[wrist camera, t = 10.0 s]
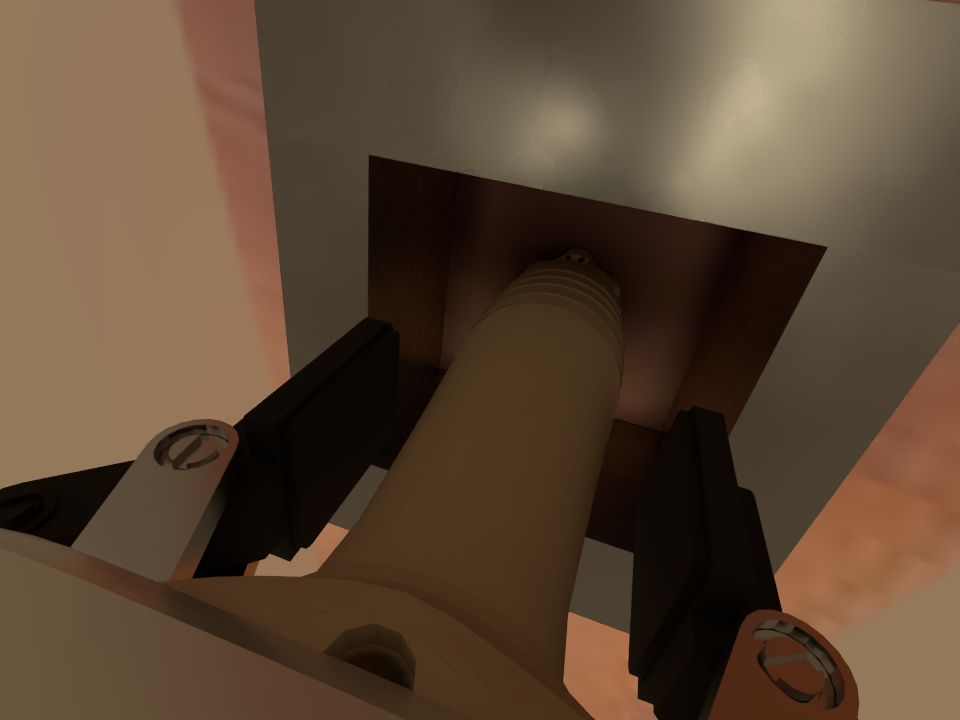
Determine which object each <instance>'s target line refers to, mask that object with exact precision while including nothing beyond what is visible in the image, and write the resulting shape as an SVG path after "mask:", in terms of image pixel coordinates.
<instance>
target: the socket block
mask: <svg viewBox="0 0 960 720" xmlns="http://www.w3.org/2000/svg"><path fill="white" fill-rule="evenodd" d="M254 3H255V13H256V23H257V34H258V44H259V54H260V65H261V75H262V85H263V96H264V106H265V116H266V127H267V137H268V147H269V158H270V168H271V179H272V189H273V199H274V210H275V220H276V230H277V241H278V251H279V261H280V272H281V282H282V292H283V303H284V313H285V323H286V334H287V344H288V354H289V365H290V375H291V378H292V377H293V376H294V375H295V374H296V373H298V372H299V371H300V370H301V369H303V368H304V367H305V366H306V365H308V364H309V363H310V362H311V361H313V360H314V359H315V358H316V357H317V356H319V355H320V354H321V353H322V352H324V351H325V350H326V349H327V348H329V347H330V346H331V345H332V344H334V343H335V342H336V341H337V340H338V339H340V338H341V337H342V336H343V335H345V334H346V333H347V332H348V331H350V330H351V329H352V328H353V327H355V326H356V325H357V324H358V323H359V322H361V321H362V320H363V319H364V318H366V317H370V318H374V319H377V320H381V321H385V322H388V323H391V324H392V325H393V328H394V331H397V332H398V333H399V337H400V341H399V363H398V385H397V408H396V425H395V430H394V433H393V435H392V437H391V439H390V440H389V441H388V443H387V444H386V445H385V447H384V448H383V449H382V451H381V452H380V453H379V455H378V456H377V458H376V459H375V460H374V462H373V463H372V464H371V466H370V467H369V468H368V470H367V471H366V472H365V474H364V475H363V476H362V478H361V479H360V480H359V482H358V483H357V484H356V486H355V487H354V488H353V490H352V491H351V492H350V494H349V495H348V496H347V498H346V499H345V500H344V502H343V503H342V504H341V506H340V507H339V509H338V510H337V511H336V513H335V514H334V515H333V517H332V518H331V519H330V521H329V522H328V523H331V524H334V525H336V526H339V527H342V528H344V529H347V530H351V529H352V528H353V526H354V525H355V524H356V523H357V521H358V520H359V519H360V517H361V515H362V514H363V512H364V510H365V509H366V507H367V505H368V504H369V502H370V500H371V499H372V497H373V495H374V494H375V492H376V491H377V489H378V487H379V486H380V484H381V482H382V481H383V479H384V477H385V476H386V474H387V472H388V471H389V469H390V468H391V466H392V464H393V463H394V461H395V459H396V458H397V456H398V454H399V453H400V451H401V449H402V448H403V446H404V444H405V443H406V441H407V440H408V438H409V436H410V435H411V433H412V431H413V430H414V428H415V426H416V425H417V423H418V421H419V420H420V418H421V416H422V414H423V413H424V411H425V409H426V407H427V406H428V404H429V402H430V400H431V398H432V397H433V395H434V393H435V391H436V390H437V388H438V386H439V384H440V383H441V381H442V379H443V377H444V376H445V374H446V372H447V371H445V370H441V369H439V363H440V352H441V342H442V332H443V322H444V311H445V301H446V291H447V281H448V271H449V260H450V250H451V240H452V230H453V219H454V209H455V199H456V189H457V179H458V173H463V174H468V175H473V176H478V177H483V178H488V179H493V180H498V181H503V182H508V183H513V184H518V185H523V186H528V187H532V188H537V189H542V190H547V191H552V192H557V193H562V194H567V195H572V196H577V197H582V198H587V199H592V200H597V201H602V202H607V203H612V204H617V205H622V206H627V207H632V208H637V209H642V210H647V211H652V212H657V213H662V214H667V215H672V216H677V217H682V218H687V219H692V220H697V221H702V222H707V223H712V224H717V225H722V226H727V227H732V228H737V229H742V230H746V233H745V235H744V237H743V240H742V242H741V244H740V247H739V249H738V252H737V254H736V256H735V259H734V261H733V263H732V266H731V268H730V270H729V273H728V275H727V278H726V280H725V282H724V285H723V287H722V289H721V292H720V294H719V296H718V299H717V301H716V304H715V306H714V308H713V311H712V313H711V315H710V318H709V320H708V323H707V325H706V327H705V330H704V332H703V334H702V337H701V339H700V341H699V344H698V346H697V349H696V351H695V353H694V356H693V358H692V360H691V363H690V365H689V367H688V370H687V372H686V375H685V377H684V379H683V382H682V384H681V386H680V389H679V391H678V393H677V396H676V398H675V401H674V403H673V405H672V408H671V410H670V412H669V415H668V417H667V419H666V422H665V424H664V427H663V429H662V431H661V432H658V431H654V430H651V429H647V428H644V427H640V426H637V425H633V424H630V423H626V422H623V421H619V420H616V419H614V420H613V424H612V428H611V432H610V435H609V439H608V443H607V447H606V451H605V455H604V459H603V463H602V467H601V471H600V475H599V479H598V483H597V487H596V491H595V495H594V499H593V503H592V508H591V512H590V517H589V521H588V526H587V531H586V535H585V540H584V544H583V549H582V553H581V558H580V562H579V567H578V571H577V576H576V580H575V585H574V589H573V594H572V599H571V603H570V608H569V612H572V613H574V614H577V615H580V616H582V617H585V618H588V619H591V620H593V621H596V622H599V623H601V624H604V625H607V626H610V627H612V628H615V629H618V630H620V631H623V632H626V633H628V634H630V619H631V598H632V577H633V556H634V535H635V517H636V511H637V506H638V503H639V500H640V498H641V496H642V493H643V491H644V489H645V486H646V484H647V482H648V480H649V477H650V475H651V473H652V470H653V468H654V466H655V463H656V461H657V459H658V457H659V454H660V452H661V450H662V447H663V445H664V443H665V440H666V438H667V436H668V434H669V431H670V429H671V427H672V424H673V422H674V420H675V417H676V415H677V413H678V412H679V410H684V411H689V409H690V408H691V407H692V406H697V407H700V408H704V409H708V410H712V411H715V412H719V413H722V414H723V415H724V419H725V424H726V429H727V434H728V439H729V443H730V448H731V453H732V458H733V463H734V468H735V473H736V478H737V483H738V486H740V487H743V488H746V489H750V490H751V491H752V492H753V494H754V497H755V499H756V503H757V507H758V512H759V516H760V520H761V524H762V528H763V533H764V537H765V541H766V545H767V550H768V554H769V558H770V562H771V566H772V571H773V575H775V573H776V572H777V571H778V569H779V568H780V567H781V565H782V564H783V562H784V561H785V560H786V558H787V557H788V556H789V554H790V553H791V551H792V550H793V549H794V547H795V546H796V545H797V543H798V542H799V541H800V539H801V538H802V536H803V535H804V534H805V532H806V531H807V530H808V528H809V527H810V526H811V524H812V523H813V521H814V520H815V519H816V517H817V516H818V515H819V513H820V512H821V511H822V509H823V508H824V506H825V505H826V504H827V502H828V501H829V500H830V498H831V497H832V496H833V494H834V493H835V491H836V490H837V489H838V487H839V486H840V485H841V483H842V482H843V481H844V479H845V478H846V476H847V475H848V474H849V472H850V471H851V470H852V468H853V467H854V465H855V464H856V463H857V461H858V460H859V459H860V457H861V456H862V455H863V453H864V452H865V450H866V449H867V448H868V446H869V445H870V444H871V442H872V441H873V440H874V438H875V437H876V435H877V434H878V433H879V431H880V430H881V429H882V427H883V426H884V425H885V423H886V422H887V420H888V419H889V418H890V416H891V415H892V414H893V412H894V411H895V410H896V408H897V407H898V405H899V404H900V403H901V401H902V400H903V399H904V397H905V396H906V394H907V393H908V392H909V390H910V389H911V388H912V386H913V385H914V384H915V382H916V381H917V379H918V378H919V377H920V375H921V374H922V373H923V371H924V370H925V369H926V367H927V366H928V364H929V363H930V362H931V360H932V359H933V358H934V356H935V355H936V354H937V352H938V351H939V349H940V348H941V347H942V345H943V344H944V343H945V341H946V340H947V339H948V337H949V336H950V334H951V333H952V332H953V330H954V329H955V328H956V326H957V325H958V324H959V322H960V4H956V3H947V2H938V1H928V0H254Z"/></svg>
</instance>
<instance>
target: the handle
mask: <svg viewBox="0 0 960 720" xmlns="http://www.w3.org/2000/svg"><path fill="white" fill-rule="evenodd" d="M620 302H621V291H620V286H619V283H618V281H617V278H616V277H614V276H610V275H608V274H607V273H605V272H604V271H602V270H601V269H600V268H599V267H598V266H597V265H596V264H595V263H594V261H593V259H592V258H591V254H590V252H588V251H586V250H583V249H576V248H574V249H570V250H569V251H568V252H567V253H566V254H565V255H563V256H561V257H559V258H557V259H554V260H550V261H536V262H535V263H533V264H532V265H531V266H530V267H528V268H527V269H526V271H525V272H524V273H523V274H522V275H521V276H520V277H519V278H517V279H516V280H515V281H514V282H513V283H511V284H510V285H509V286H508V287H507V288H506V289H505V290H504V291H503V292H502V293H501V294H500V295H499V296H498V297H497V298H496V299H495V301H494V302H493V303H492V304H491V305H490V306H489V307H488V308H487V309H486V311H485V312H484V313H483V315H482V316H481V317H480V319H479V320H478V321H477V323H476V324H475V326H474V327H473V329H472V330H471V331H470V333H469V334H468V336H467V337H466V339H465V341H464V342H463V344H462V346H461V348H460V349H459V351H458V353H457V355H456V356H455V358H454V360H453V362H452V363H451V365H450V367H449V369H448V370H447V372H446V374H445V376H444V377H443V379H442V381H441V383H440V384H439V386H438V388H437V390H436V391H435V393H434V395H433V397H432V398H431V400H430V402H429V404H428V406H427V407H426V409H425V411H424V413H423V414H422V416H421V418H420V420H419V421H418V423H417V425H416V426H415V428H414V430H413V431H412V433H411V435H410V436H409V438H408V440H407V441H406V443H405V444H404V446H403V448H402V449H401V451H400V453H399V454H398V456H397V458H396V459H395V461H394V463H393V464H392V466H391V468H390V469H389V471H388V472H387V474H386V476H385V477H384V479H383V481H382V482H381V484H380V486H379V487H378V489H377V491H376V492H375V494H374V495H373V497H372V499H371V500H370V502H369V504H368V505H367V507H366V509H365V510H364V512H363V514H362V515H361V517H360V519H359V520H358V521H357V523H356V524H355V525H354V526H353V528H352V529H351V530H350V531H349V533H348V534H347V535H346V536H345V537H344V539H343V540H342V541H341V542H340V544H339V545H338V546H337V547H336V549H335V550H334V551H333V552H332V553H331V555H330V556H329V557H328V558H327V560H326V561H325V562H324V563H323V565H322V566H321V567H320V568H319V570H318V571H317V572H314V573H311V574H308V575H305V576H302V577H285V576H284V577H283V576H230V577H208V578H195V579H182V580H172V581H162V582H158V583H161V584H163V585H165V586H168V587H170V588H172V589H175V590H177V591H180V592H182V593H184V594H187V595H189V596H191V597H194V598H196V599H199V600H201V601H203V602H206V603H208V604H210V605H213V606H215V607H217V608H220V609H222V610H225V611H227V612H229V613H232V614H234V615H236V616H239V617H241V618H243V619H246V620H248V621H251V622H253V623H255V624H258V625H260V626H262V627H265V628H267V629H270V630H272V631H274V632H277V633H279V634H281V635H283V636H285V637H287V638H289V639H292V640H294V641H296V642H299V643H301V644H303V645H305V646H308V647H310V648H312V649H315V650H317V651H319V652H321V653H326V654H328V655H330V656H333V657H335V658H337V659H340V660H342V661H344V662H347V663H349V664H352V665H354V666H356V667H359V668H361V669H363V670H366V671H368V672H370V673H373V674H375V675H377V676H380V677H382V678H384V679H386V680H389V681H391V682H393V683H396V684H398V685H400V686H403V687H405V688H407V689H410V690H412V691H413V693H415V694H417V695H419V696H422V697H424V698H426V699H428V700H431V701H433V702H435V703H438V704H440V705H442V706H444V707H447V708H449V709H451V710H453V711H456V712H458V713H461V714H463V715H466V716H469V717H472V718H474V719H477V720H595V719H594V718H593V717H592V716H591V715H590V714H589V713H588V712H587V711H586V710H585V709H584V708H583V707H582V706H581V705H580V704H579V703H578V702H577V700H576V699H575V698H574V697H573V696H572V695H571V694H570V693H569V692H568V690H567V688H566V686H565V685H564V683H563V676H564V662H565V648H566V634H567V620H568V612H569V608H570V603H571V599H572V594H573V589H574V585H575V580H576V576H577V571H578V567H579V562H580V558H581V553H582V549H583V544H584V540H585V535H586V531H587V526H588V521H589V517H590V512H591V508H592V503H593V499H594V495H595V491H596V487H597V483H598V479H599V475H600V471H601V467H602V463H603V459H604V455H605V451H606V447H607V443H608V439H609V435H610V432H611V428H612V424H613V420H614V416H615V412H616V408H617V404H618V399H619V395H620V388H621V382H622V374H623V367H624V326H623V320H622V314H621V308H620V305H619V303H620Z"/></svg>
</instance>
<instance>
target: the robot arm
mask: <svg viewBox="0 0 960 720" xmlns="http://www.w3.org/2000/svg"><path fill="white" fill-rule="evenodd" d="M399 341H400V337H399V333H398V332H397V331H394V328H393V325H392V324H391V323H388V322H385V321H381V320H377V319H374V318H370V317H366V318H364V319H363V320H362V321H361V322H359V323H358V324H357V325H356V326H355V327H353V328H352V329H351V330H350V331H348V332H347V333H346V334H345V335H343V336H342V337H341V338H340V339H338V340H337V341H336V342H335V343H334V344H332V345H331V346H330V347H329V348H327V349H326V350H325V351H324V352H322V353H321V354H320V355H319V356H317V357H316V358H315V359H314V360H313V361H311V362H310V363H309V364H308V365H306V366H305V367H304V368H303V369H301V370H300V371H299V372H298V373H296V374H295V375H294V376H293V377H292V378H290V379H289V380H288V381H287V382H285V383H284V384H283V385H282V386H280V387H279V388H278V389H277V390H276V391H274V392H273V393H272V394H271V395H269V396H268V397H267V398H266V399H264V400H263V401H262V402H261V403H259V404H258V405H257V406H256V407H255V408H254V409H252V410H251V411H250V412H248V413H247V414H246V415H245V416H244V418H243V419H242V420H240V421H239V422H238V423H237V424H235V425H234V426H233V427H232V426H231V425H229V424H227V423H225V422H223V421H218V420H212V419H201V420H192V421H187V422H182V423H179V424H177V425H174V426H172V427H169V428H167V429H165V430H164V431H162V432H160V433H159V434H157V435H156V436H155V437H154V438H153V439H152V440H151V441H150V442H149V443H148V444H147V445H146V447H145V448H144V449H143V450H142V452H141V453H140V454H139V456H138V457H137V459H136V460H133V461H128V462H123V463H118V464H113V465H108V466H103V467H98V468H93V469H88V470H83V471H79V472H73V473H68V474H64V475H58V476H53V477H48V478H43V479H39V480H33V481H29V482H23V483H20V484H16V485H13V486H9V487H6V488H3V489H0V720H477V719H474V718H472V717H469V716H466V715H463V714H461V713H458V712H456V711H453V710H451V709H449V708H447V707H444V706H442V705H440V704H438V703H435V702H433V701H431V700H428V699H426V698H424V697H422V696H419V695H417V694H415V693H413V691H412V690H410V689H407V688H405V687H403V686H400V685H398V684H396V683H393V682H391V681H389V680H386V679H384V678H382V677H380V676H377V675H375V674H373V673H370V672H368V671H366V670H363V669H361V668H359V667H356V666H354V665H352V664H349V663H347V662H344V661H342V660H340V659H337V658H335V657H333V656H330V655H328V654H326V653H321V652H319V651H317V650H315V649H312V648H310V647H308V646H305V645H303V644H301V643H299V642H296V641H294V640H292V639H289V638H287V637H285V636H283V635H281V634H279V633H277V632H274V631H272V630H270V629H267V628H265V627H262V626H260V625H258V624H255V623H253V622H251V621H248V620H246V619H243V618H241V617H239V616H236V615H234V614H232V613H229V612H227V611H225V610H222V609H220V608H217V607H215V606H213V605H210V604H208V603H206V602H203V601H201V600H199V599H196V598H194V597H191V596H189V595H187V594H184V593H182V592H180V591H177V590H175V589H172V588H170V587H168V586H165V585H163V584H161V583H158V582H162V581H172V580H182V579H195V578H208V577H230V576H254V574H255V571H256V568H257V566H258V562H259V560H262V559H265V558H266V557H267V556H268V555H269V553H270V554H272V555H275V556H277V557H280V558H282V559H285V560H287V561H291V560H292V559H293V557H294V556H295V555H296V553H297V552H298V551H299V549H300V548H301V547H302V548H308V547H309V546H311V544H312V543H313V542H314V541H315V539H316V538H317V537H318V535H319V534H320V533H321V531H322V530H323V529H324V527H325V526H326V525H327V523H328V522H329V521H330V519H331V518H332V517H333V515H334V514H335V513H336V511H337V510H338V509H339V507H340V506H341V504H342V503H343V502H344V500H345V499H346V498H347V496H348V495H349V494H350V492H351V491H352V490H353V488H354V487H355V486H356V484H357V483H358V482H359V480H360V479H361V478H362V476H363V475H364V474H365V472H366V471H367V470H368V468H369V467H370V466H371V464H372V463H373V462H374V460H375V459H376V458H377V456H378V455H379V453H380V452H381V451H382V449H383V448H384V447H385V445H386V444H387V443H388V441H389V440H390V439H391V437H392V435H393V433H394V430H395V425H396V408H397V385H398V363H399ZM628 669H629V673H630V674H632V675H634V676H637V677H638V699H640V700H643V701H645V702H648V703H650V704H653V705H654V714H655V716H656V717H657V719H658V720H858V708H859V698H858V688H857V684H856V682H855V680H854V677H853V675H852V672H851V670H850V668H849V667H848V665H847V664H846V662H845V661H844V660H843V658H842V656H841V655H840V653H839V652H838V651H837V650H836V649H835V648H834V647H833V645H832V644H831V643H830V642H829V641H828V640H827V639H826V638H825V637H824V636H823V635H822V634H820V633H819V632H818V631H816V630H815V629H814V628H812V627H811V626H809V625H808V624H807V623H805V622H803V621H801V620H799V619H798V618H796V617H794V616H792V615H790V614H787V613H783V612H782V608H781V604H780V600H779V596H778V592H777V587H776V583H775V579H774V575H773V571H772V566H771V562H770V558H769V554H768V550H767V545H766V541H765V537H764V533H763V528H762V524H761V520H760V516H759V512H758V507H757V503H756V499H755V497H754V494H753V492H752V491H751V490H750V489H746V488H743V487H740V486H738V483H737V478H736V473H735V468H734V463H733V458H732V453H731V448H730V443H729V439H728V434H727V429H726V424H725V419H724V415H723V414H722V413H719V412H715V411H712V410H708V409H704V408H700V407H697V406H692V407H691V408H690V409H689V411H684V410H679V412H678V413H677V415H676V417H675V420H674V422H673V424H672V427H671V429H670V431H669V434H668V436H667V438H666V440H665V443H664V445H663V447H662V450H661V452H660V454H659V457H658V459H657V461H656V463H655V466H654V468H653V470H652V473H651V475H650V477H649V480H648V482H647V484H646V486H645V489H644V491H643V493H642V496H641V498H640V500H639V503H638V506H637V511H636V517H635V535H634V556H633V577H632V598H631V619H630V639H629V660H628Z"/></svg>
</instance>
